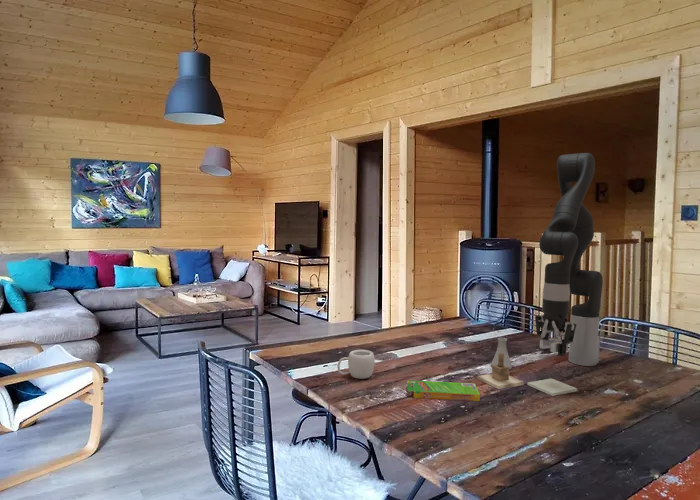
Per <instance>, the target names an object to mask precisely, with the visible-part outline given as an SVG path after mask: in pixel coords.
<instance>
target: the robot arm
mask: <svg viewBox="0 0 700 500" xmlns="http://www.w3.org/2000/svg"><path fill="white" fill-rule="evenodd" d="M595 171H596V162H595V157H594V155H593V154H592V153H590V152H578V153H566V154H561V155H559V156H558V158H557V162H556V173H557V181H558V186H559V187H558V188H559V191H560V199H559V200H558V201H557V203H556V205H555V207H554V211H553V214H552V219H551V221H550V222H549V224H548V226H547V227H546V228H545V229H544V231H543V233H542V234H541V237H540V240H539V249H540V251H541V253H543V254H545V255H548V256H563V257H562V259H561V260H559V261H556V262H551V263H547V264H546V265H545V267H544V283H543V288H542V302H541V303H542V304H541V306H542V307H541V311H542V312H543V314H542V315H541V314H539V315H535V317H534V318H535V319H534V321H535V329H536V330H535V331H536V333H535V334H536V335H537V336H540V338H541V340H542V339H550V336H551V334H552V332H554V333H555V336H556V338H557V339H558V341H559V343H558V344H559V346H558V352H557V356H559V357H564V356H565V355H566V354H567V351H566V346H567V343H568V362H570V363H571V364H574V365H578V366H583V367H585V366H586V367H592V366H596V365H597V364H599V360H600V347H601V346H600V345H601V343H600V342H601V341H600V340H601V339H600V338H601V337H600V336H599V332H600V331H599V329H600V325H599V324H600V310H601V303H602V292H603V284H604V283H603V282H604V280H603V275H602V273H601V272H600V271H598V270H588V269H581V267H580V262H581V258H582V257H583V255H584V253H585V252H586V250H587V249H588V247H589V246H590V244H591V243H592V242H593V239H594V237H595V232H594V220H593V216H592V214H591V212H590V211H589V210H588V208H587V207H586V206H585V205H584V203H583V201H584V199H585V197H586V195H587V192H588V190H589V189H590V185H591V184H592V182H593V181H592V180H593V179H594V176H595ZM572 183H574V185H573V184H572ZM571 295H574V296H582V297H588V299H587V301H585V302H583V303H579V304H575V305H572V306H571V309H570V298H571ZM569 313H570V321H569V320H568V315H569ZM541 349H542V348H541ZM549 350H550V348H545V349H542V351H544V352H547V351H548V352H549Z"/></svg>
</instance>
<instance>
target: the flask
mask: <svg viewBox="0 0 700 500" xmlns="http://www.w3.org/2000/svg"><path fill="white" fill-rule="evenodd" d="M507 341H508V338H506V337H498V338H497V348H496V352H495V354H494V356H493V359H492V362H491V363H490V366H491V367H492V365H498V356H499V353H503V354H504V364H503V365H505V366H507V367H509V370H512V368H513V365H512V361H511V359H510V356H509V353H508V348H507Z"/></svg>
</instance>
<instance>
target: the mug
mask: <svg viewBox="0 0 700 500" xmlns="http://www.w3.org/2000/svg"><path fill="white" fill-rule="evenodd" d="M344 360H346V361H347V365H348V371H345V372H343V371H342V370H341V368H340V367H341V362H342V361H344ZM337 362H338V363H337V364H336V365H337V367H336V369H337V371H338V373H339V374H341V375H344V376H345V375H349V374H350V375H351V377H352V378H355V379H359V380H363V379H369V378H370V377H371V376H372V375H373V372H374V369H375V354H374V352H373V351H372V350H371V351H370V350H368V349H355V350H352V351H350V352H349V354H348V356H347V357H346V356H344V357H341V358H340V359H339V360H338V361H337Z"/></svg>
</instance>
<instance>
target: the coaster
mask: <svg viewBox="0 0 700 500" xmlns="http://www.w3.org/2000/svg"><path fill="white" fill-rule="evenodd" d="M527 386H529V387H531V388H533V389H535V390H538V391H541V392H543V393H546V394H547V395H549V396H552V397H554V396H561V395H565V394H569V393H575V392H578V388H576V387H574V386H572V385H569V384H567V383H564V382H562V381H559V380H557V379H554V378H545V379H542V380H541V379H539V380H534V381H530V382H527Z"/></svg>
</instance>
